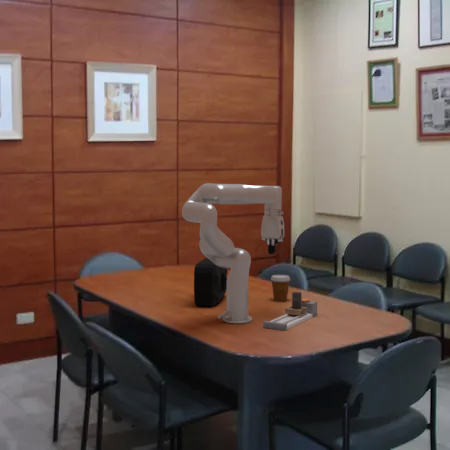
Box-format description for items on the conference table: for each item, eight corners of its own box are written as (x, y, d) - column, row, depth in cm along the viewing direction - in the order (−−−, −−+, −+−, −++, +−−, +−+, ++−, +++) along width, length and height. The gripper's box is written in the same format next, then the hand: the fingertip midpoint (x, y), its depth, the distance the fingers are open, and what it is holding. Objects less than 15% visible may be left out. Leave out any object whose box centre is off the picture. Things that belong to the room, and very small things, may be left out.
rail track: (284, 330, 292) (284, 316, 292) (263, 327, 298) (263, 313, 297) (317, 314, 320) (317, 301, 319) (297, 312, 325) (297, 299, 324)
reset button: (307, 306, 316) (307, 300, 316) (298, 304, 319) (298, 299, 319) (311, 304, 320) (311, 298, 320) (302, 303, 323) (302, 297, 322)
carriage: (299, 315, 308) (300, 295, 307) (285, 313, 311) (285, 293, 310) (307, 311, 314) (308, 291, 313) (293, 309, 318) (293, 290, 317)
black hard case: (208, 294, 364) (207, 255, 362) (231, 295, 362) (231, 256, 359) (193, 307, 335) (193, 265, 332) (219, 308, 332) (218, 266, 330)
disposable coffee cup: (274, 303, 344) (274, 278, 343) (268, 298, 353) (268, 275, 352) (292, 301, 347) (293, 277, 345) (286, 297, 356) (286, 274, 354)
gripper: (291, 213, 319) (290, 254, 321) (263, 211, 328) (262, 251, 329) (283, 214, 313) (281, 256, 315) (254, 212, 322) (253, 253, 323)
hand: (271, 253), depth 322 cm, fingers closed
